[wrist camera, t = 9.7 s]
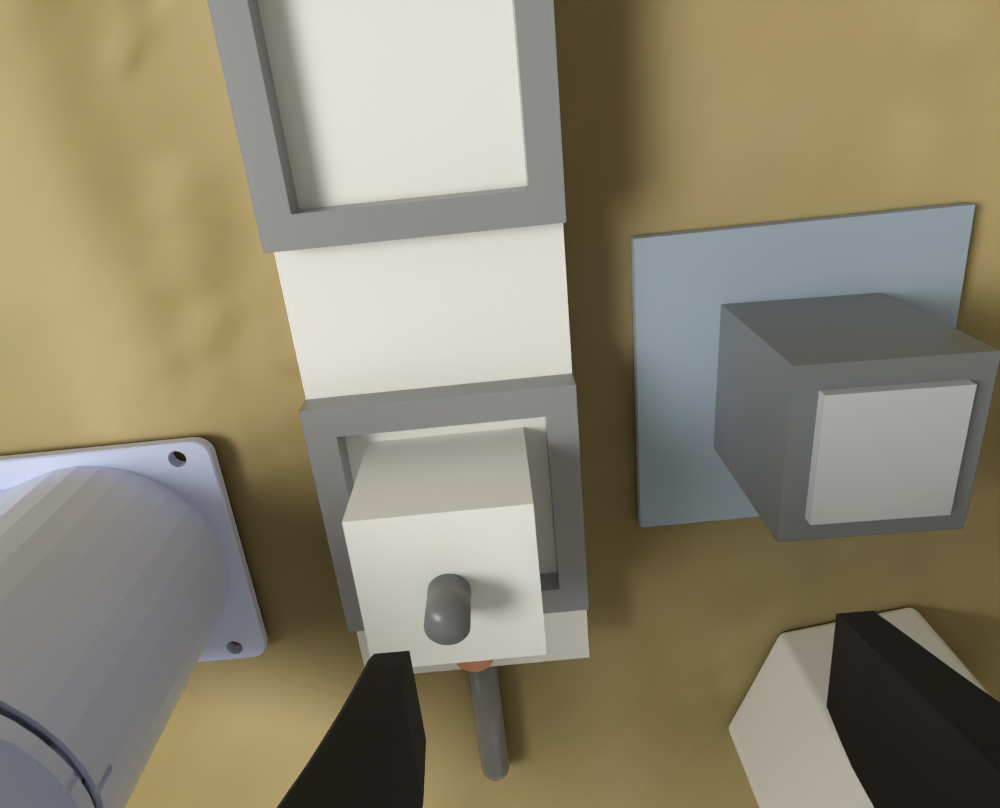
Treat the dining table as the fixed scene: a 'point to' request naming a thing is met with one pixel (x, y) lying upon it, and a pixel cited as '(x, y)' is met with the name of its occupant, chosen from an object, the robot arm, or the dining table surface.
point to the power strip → (420, 255)
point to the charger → (850, 414)
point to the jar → (810, 719)
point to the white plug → (447, 548)
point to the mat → (751, 278)
